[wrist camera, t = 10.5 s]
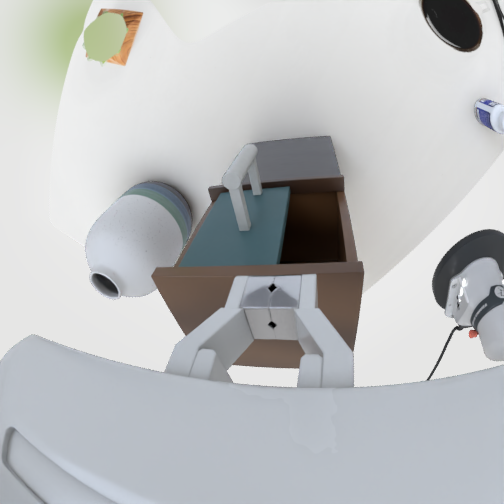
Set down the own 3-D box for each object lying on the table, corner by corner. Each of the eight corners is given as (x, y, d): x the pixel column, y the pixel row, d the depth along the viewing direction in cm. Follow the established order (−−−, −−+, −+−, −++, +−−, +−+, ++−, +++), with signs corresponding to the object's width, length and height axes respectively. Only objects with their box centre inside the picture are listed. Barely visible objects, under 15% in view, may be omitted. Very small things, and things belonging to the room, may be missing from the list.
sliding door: (290, 193, 27) (277, 276, 18) (222, 199, 29) (180, 277, 20) (281, 137, 24) (262, 196, 15) (208, 148, 26) (150, 209, 17)
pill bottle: (488, 129, 32) (513, 145, 26) (470, 115, 32) (495, 129, 26) (496, 107, 29) (523, 120, 22) (479, 92, 29) (506, 102, 22)
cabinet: (334, 188, 48) (350, 368, 22) (260, 193, 52) (202, 361, 26) (329, 126, 42) (364, 272, 15) (247, 135, 45) (150, 276, 19)
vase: (141, 160, 52) (65, 226, 33) (211, 199, 55) (160, 285, 37) (124, 217, 62) (66, 286, 44) (182, 251, 65) (139, 332, 47)
